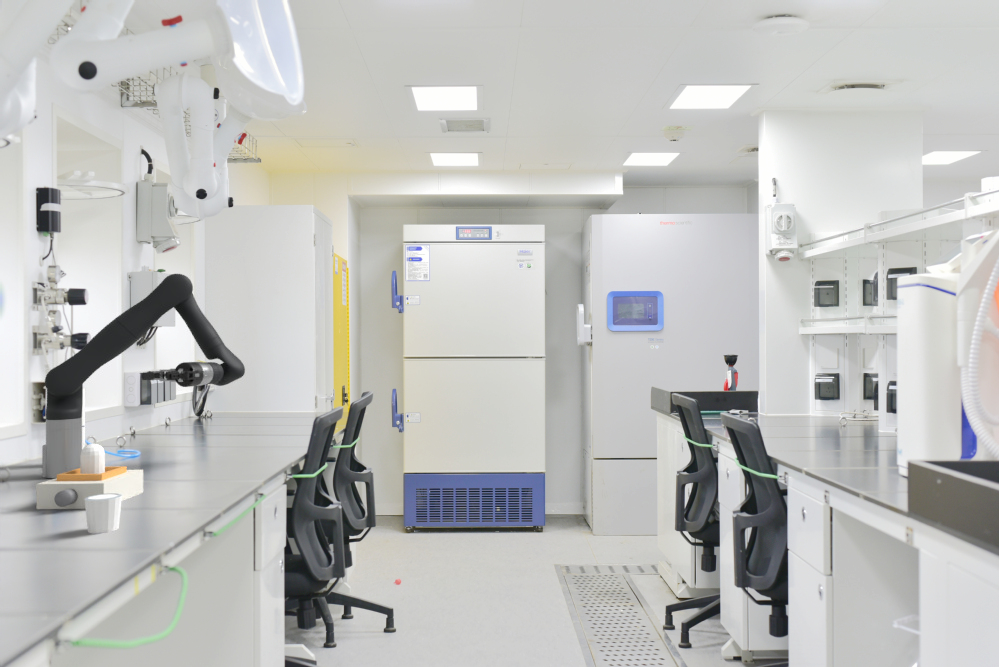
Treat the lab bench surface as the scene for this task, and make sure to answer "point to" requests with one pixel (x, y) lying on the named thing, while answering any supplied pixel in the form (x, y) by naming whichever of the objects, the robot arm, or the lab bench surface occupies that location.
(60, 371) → the robot arm
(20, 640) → the lab bench surface
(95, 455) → the capsule
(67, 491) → the plate
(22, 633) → the lab bench surface
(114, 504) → the white tapered cup
